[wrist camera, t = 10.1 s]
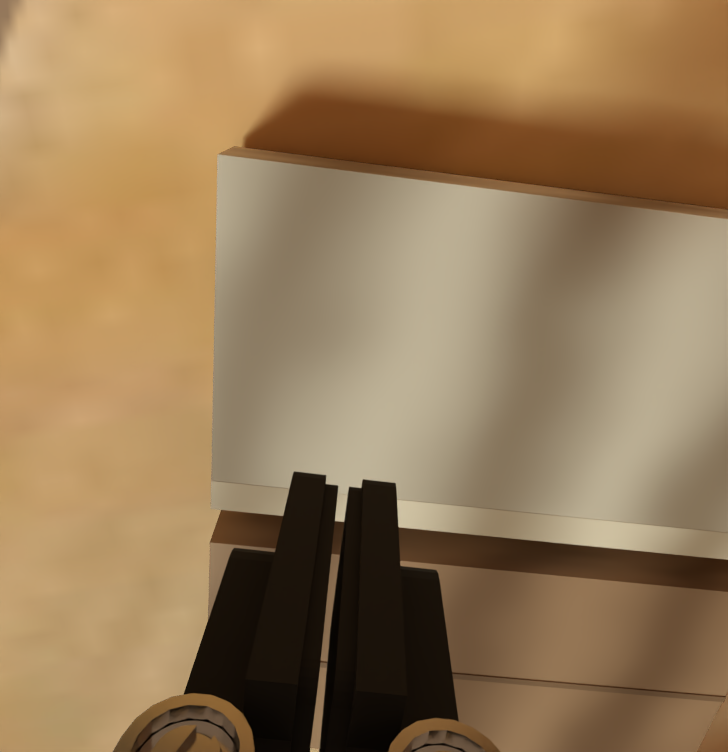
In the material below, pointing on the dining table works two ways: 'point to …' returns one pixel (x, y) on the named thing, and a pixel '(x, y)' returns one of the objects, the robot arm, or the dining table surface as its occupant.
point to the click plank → (472, 352)
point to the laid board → (555, 636)
